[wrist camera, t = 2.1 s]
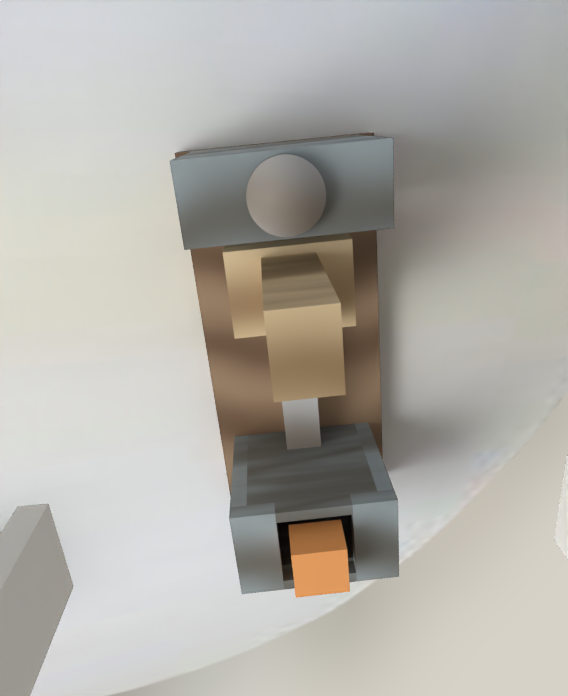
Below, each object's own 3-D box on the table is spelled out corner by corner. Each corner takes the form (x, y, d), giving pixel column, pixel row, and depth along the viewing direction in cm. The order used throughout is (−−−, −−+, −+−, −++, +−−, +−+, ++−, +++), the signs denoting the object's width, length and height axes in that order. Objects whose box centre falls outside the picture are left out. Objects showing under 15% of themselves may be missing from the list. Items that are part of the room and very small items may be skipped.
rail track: (178, 152, 34) (144, 164, 23) (368, 132, 34) (418, 136, 23) (232, 491, 44) (225, 603, 33) (379, 475, 44) (417, 582, 33)
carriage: (227, 234, 33) (209, 304, 20) (338, 223, 34) (392, 284, 21) (237, 310, 35) (227, 418, 22) (342, 299, 35) (393, 400, 22)
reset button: (288, 525, 33) (291, 555, 30) (340, 519, 33) (347, 549, 30) (293, 565, 34) (295, 597, 32) (343, 559, 34) (349, 591, 32)
